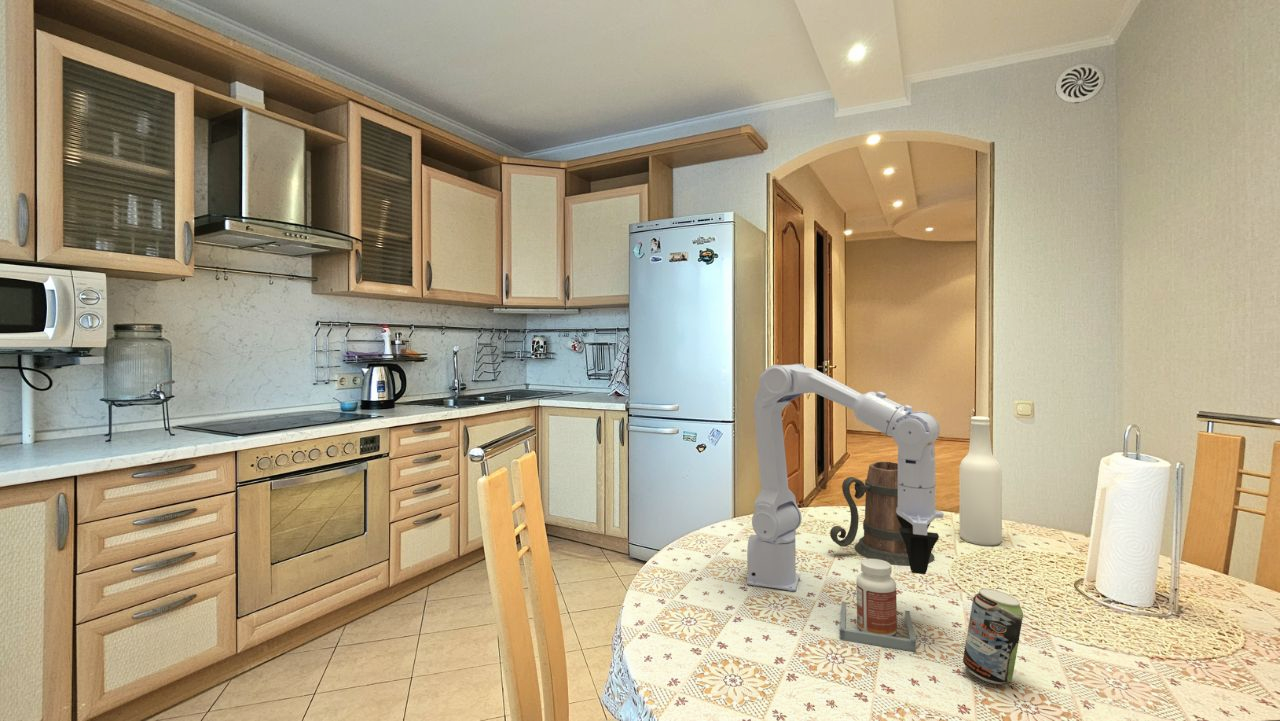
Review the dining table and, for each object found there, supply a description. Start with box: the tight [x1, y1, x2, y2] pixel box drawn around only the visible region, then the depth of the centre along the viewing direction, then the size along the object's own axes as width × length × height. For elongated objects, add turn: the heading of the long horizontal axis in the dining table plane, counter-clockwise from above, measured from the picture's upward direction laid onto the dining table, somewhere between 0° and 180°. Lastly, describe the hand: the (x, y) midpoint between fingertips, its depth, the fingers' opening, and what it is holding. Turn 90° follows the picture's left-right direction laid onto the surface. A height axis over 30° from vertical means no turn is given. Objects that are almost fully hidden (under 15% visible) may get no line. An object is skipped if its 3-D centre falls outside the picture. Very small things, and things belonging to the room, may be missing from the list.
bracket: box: [839, 600, 917, 653], centre depth 93 cm, size 11×11×2 cm
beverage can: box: [962, 587, 1024, 685], centre depth 79 cm, size 6×7×12 cm
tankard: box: [829, 461, 936, 567], centre depth 127 cm, size 24×17×20 cm
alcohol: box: [958, 415, 1003, 547], centre depth 135 cm, size 9×9×30 cm
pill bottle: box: [855, 558, 898, 637], centre depth 93 cm, size 6×6×11 cm
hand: (916, 564), depth 94 cm, fingers open, 7 cm apart
